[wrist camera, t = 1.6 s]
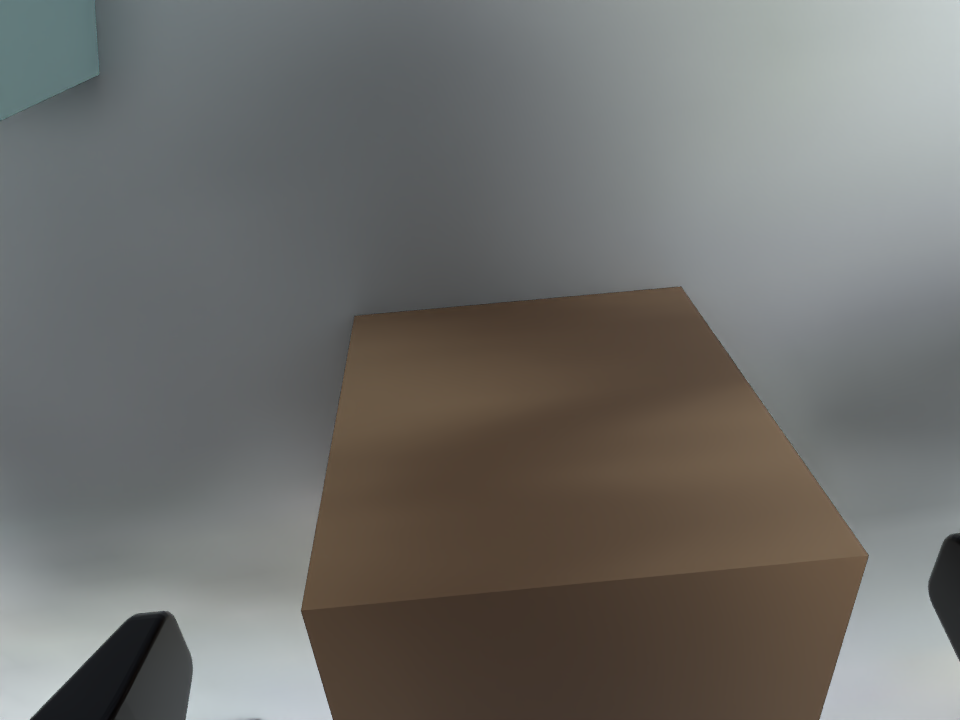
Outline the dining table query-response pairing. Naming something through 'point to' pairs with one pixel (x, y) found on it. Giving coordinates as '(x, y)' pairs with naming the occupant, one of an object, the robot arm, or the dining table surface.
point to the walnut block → (569, 524)
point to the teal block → (44, 50)
